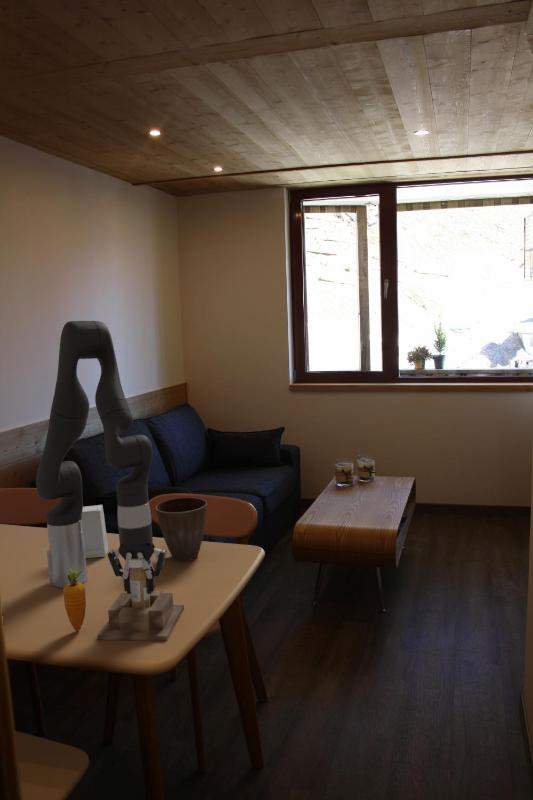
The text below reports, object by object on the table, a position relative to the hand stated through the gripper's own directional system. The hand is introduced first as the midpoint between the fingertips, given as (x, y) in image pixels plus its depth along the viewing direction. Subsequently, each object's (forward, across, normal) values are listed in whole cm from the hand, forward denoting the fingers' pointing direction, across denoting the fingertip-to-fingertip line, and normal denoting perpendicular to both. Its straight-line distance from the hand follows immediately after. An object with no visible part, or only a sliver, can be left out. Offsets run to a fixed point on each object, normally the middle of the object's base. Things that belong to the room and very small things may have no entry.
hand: (140, 592), depth 163 cm
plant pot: (+8, 0, +43) cm, 44 cm away
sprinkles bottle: (+5, 0, 0) cm, 5 cm away
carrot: (+8, -14, -4) cm, 17 cm away
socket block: (+8, 0, 0) cm, 8 cm away
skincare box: (+8, -29, +45) cm, 54 cm away
